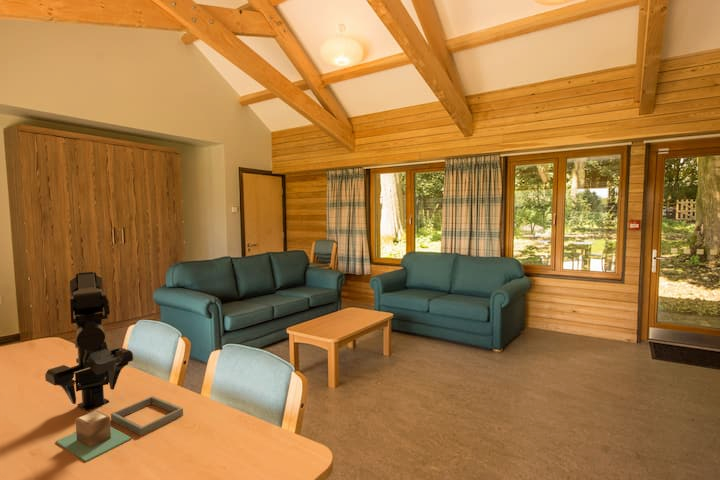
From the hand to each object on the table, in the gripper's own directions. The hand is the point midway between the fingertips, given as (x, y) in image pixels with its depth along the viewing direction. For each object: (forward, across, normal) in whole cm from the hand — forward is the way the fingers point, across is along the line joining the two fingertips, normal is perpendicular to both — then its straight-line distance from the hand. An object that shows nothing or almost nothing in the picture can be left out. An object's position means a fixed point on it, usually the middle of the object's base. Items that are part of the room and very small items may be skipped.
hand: (93, 396), depth 103 cm
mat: (+12, -1, 0) cm, 12 cm away
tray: (+12, +13, -1) cm, 18 cm away
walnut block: (+12, -1, 0) cm, 12 cm away
